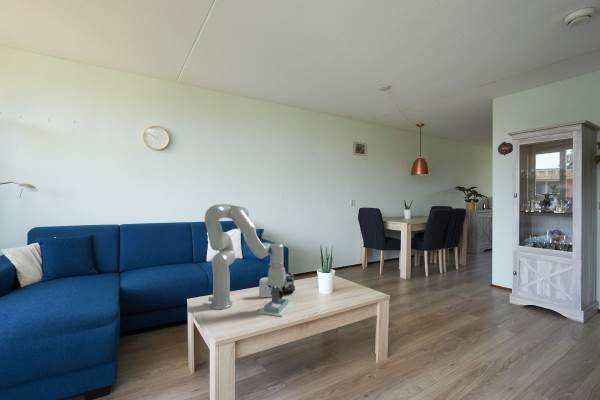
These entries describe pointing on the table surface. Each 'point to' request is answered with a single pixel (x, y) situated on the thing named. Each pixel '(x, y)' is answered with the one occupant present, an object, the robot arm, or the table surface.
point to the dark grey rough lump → (289, 283)
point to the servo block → (276, 295)
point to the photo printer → (264, 288)
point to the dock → (276, 308)
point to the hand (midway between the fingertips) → (277, 296)
